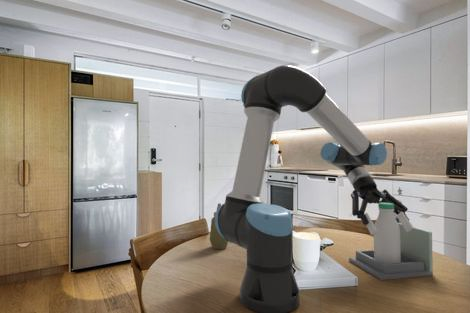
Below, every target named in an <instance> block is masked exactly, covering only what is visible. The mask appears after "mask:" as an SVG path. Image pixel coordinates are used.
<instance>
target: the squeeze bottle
mask: <svg viewBox="0 0 470 313" xmlns="http://www.w3.org/2000/svg"><path fill="white" fill-rule="evenodd" d="M221 206H222V203H217V207H216V210H215V211H214V212H213V217H212V218H211V219H210V223H211V224H210V229H209V230H210V233H209V241H210V245H211V247H212V249H213V250H224V249H227V247H228V244H229V241H227V240H226V239H225V238H223V237H222V236H221V235H220V234H219V233H218V231H217V229H216V226H215V215H216V212H217V210H218V209H219V207H221Z"/></svg>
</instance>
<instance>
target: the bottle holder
mask: <svg viewBox="0 0 470 313" xmlns="http://www.w3.org/2000/svg"><path fill="white" fill-rule="evenodd" d="M398 225H399V229H400V249H401V263H394V264H384V263H382V262H380V261H378V260H376V259H374V249H364V250H355V256H351V257H348V261H349V262H351V263H352V264H354V265H355V266H357V267H359V268H360V269H361V270H364V271H366V272H367V273H369V274H370V275H372V276H374V277H376V278H377V279H379V280H381V281H387V280H395V279H406V278H408V279H409V278H415V277H416V278H417V277H427V276H428V277H429V276H433V274H434V269H433V264H434V262H433V261H434V260H433V232H432V231H430V230H427V229H422V228H418V227H415V226H413V227H414V229H413V230H412V231H411V232H410V233H407V231H406V230H405V228H404V227H403V225H402V224H401V223H398Z"/></svg>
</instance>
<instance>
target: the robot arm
mask: <svg viewBox="0 0 470 313" xmlns="http://www.w3.org/2000/svg"><path fill="white" fill-rule="evenodd" d="M240 97H241V98H240V100H241V103H243V104H242V105H243V107H244V109H243V113H244V114H245V116H246V117H247V118H246V123H245V128H244V134H243V138H242V143H241V148H240V153H239V157H238V162H237V167H236V171H235V177H234V180H233V181H234V182H233V186H232V190H231V191H229V193H227V194H226V196H225V200H224V203H221V207H219V209H218V210H217V209H216V211H217V212H216V211H215V212H216V215H215V226H216V229H217V231H218V233H219V234H220V235H221V236H222V237H223V238H225V239H226V240H227V241H228V243H231V244H234V245H237V246H239V247H241V248H242V249H244V250H246V269H245V271H244V275H243V278H242V281H241V283H240V288H239V300H240V302H241V303H242V305H244V306H245V308H248V309H249V310H250V311H253V312H257V313H289V312H292V311H294V310H295V309H297V308H298V307H299V305H300V302H301V300H300V298H301V297H300V288H299V286H298V282H297V280H296V276H295V273H294V269H293V241H294V240H293V235H294V234H293V230H294V226H293V219H292V218H293V217H292V214H291V212H290V211H289V210H288V209H287V208H285V207H283V206H281V205H277V204H269V203H264V200H263V199H262V198H261V192H262V187H263V181H264V175H265V171H266V166H267V161H268V155H269V149H270V145H271V140H272V135H273V129H274V123H276V122H277V121H278V120H279V119H280V118H281V113H282V108H283V107H287V106H292V107H294V108H296V109H298V110H299V111H300V112H301V113H307V114H308V115H309V116H310V117H311V118H312V119H313V120H314V121H315V122H316V123H317V124H318V125H319V126H320V127H321V128H323V129H324V130H325V132H327V134H328V135H330V136H331V137H332V138H333V139H334V141H336V142H337V143H336V142H333V141H328V142H326V143H324V144H323V145H322V147H321V149H320V158H321V159H322V160H323V161H325V162H326V163H328V164H330V165H332V166H335V167H336V168H339V169H340V170H342V171H343V173H344V174H345V175H346V177H347V179H348V180H349V183H350V184H351V186H352V187H353V189H354V190H353V191H352V192H351V194H350V197H351V202H352V203H351V205H352V206H351V211H352V212H351V214H352V215H353V217H356V218H357V219H360V221H361V222H362V224H363V225H365V227H366V228H367V230H368V232H369V234H370V236H374V233H375V232H376V231H377V229H376V227H375V223H374V222H373V220H372V219H371V217H370V215H369V213H368V212H366V209H367V206H368V204H379V203H392V204H394V211H393V212H394V213H396V214H397V218H398V219H399V221H400V222H401V224H402V225H403V227H404V228H405V230H406V231H407V233H410V232H411V231H412V230H413V229H414V227H415V226H414V225H413V224H412V222H410V219H409V217H408V216H407V214H406V212H407V211H408V210H409V209H408V207H407V206H405V205H404V204H403V202H402V203H400V202H399V201H398V200H399V199H397V198H395V197H394V196H393V195H391V194H390V192H389V191H388V190H387V189H384V190H382V191H381V190H379V189H378V186H377V185H378V184H377V183H376V181H375V180H374V178H373V177H372V176H371V174H370V172H369V171H368V170H367V168H366V167H365V166H371V167H372V166H381V165H383V164H384V163H385V161H386V160H387V156H388V152H387V148H386V146H385V145H384V143H381V142H375V141H374V142H371V140H370V139H368V137H367V136H366V135H365V134H364V132H362V131H361V130H360V128H358V127H357V125H356V124H355V123H354V122H353V121H352V120H351V119H350V118H349V117H348V116H347V115H346V114H345V113H344V111H343V110H341V108H340V107H339V106H338V105H337V104H336V103H335V102H334V101H333V100H332V99H331V97H329V95H328V94H327V89H326V86H324V84H323V83H322V82H321V81H320V80H318V79H317V78H316V77H315V76H314V75H312V74H311V73H309V72H307V71H306V70H304V69H302V68H300V67H297V66H296V65H295V66H293V65H289V64H284V65H279V66H276V67H274V68H273V69H270V70H268V71H265V72H264V73H261V74H258V75H255V76H254V77H252V78H251V79H249V80H247V82H246V83H245V84H244V85H243V87H242V90H241V95H240ZM360 199H361V200H362V201H361V204H360V203H359V202H360V201H359V200H360ZM381 199H382V200H381ZM380 200H381V201H380Z"/></svg>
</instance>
